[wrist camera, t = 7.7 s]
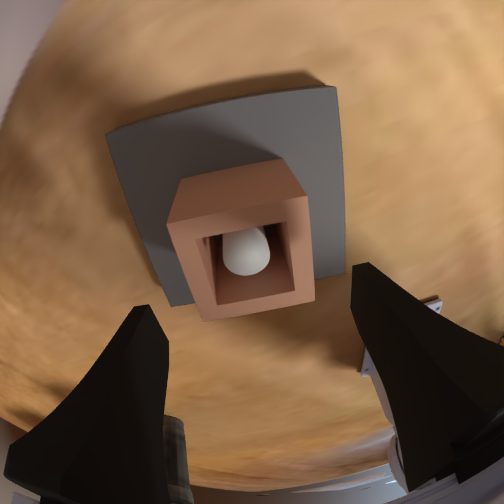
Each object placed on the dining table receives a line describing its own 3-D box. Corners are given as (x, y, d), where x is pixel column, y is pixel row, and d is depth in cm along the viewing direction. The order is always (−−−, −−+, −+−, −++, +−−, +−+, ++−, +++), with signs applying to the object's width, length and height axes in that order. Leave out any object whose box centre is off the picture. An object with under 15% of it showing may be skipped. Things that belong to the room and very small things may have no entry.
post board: (338, 260, 21) (369, 320, 16) (173, 292, 21) (164, 359, 17) (326, 85, 15) (377, 95, 10) (114, 129, 15) (67, 160, 10)
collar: (294, 244, 18) (315, 300, 14) (205, 261, 18) (203, 321, 14) (283, 158, 15) (307, 195, 11) (181, 179, 15) (166, 224, 11)
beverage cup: (128, 420, 33) (119, 558, 16) (156, 404, 31) (152, 567, 14) (173, 436, 36) (174, 563, 20) (205, 423, 34) (213, 568, 17)
